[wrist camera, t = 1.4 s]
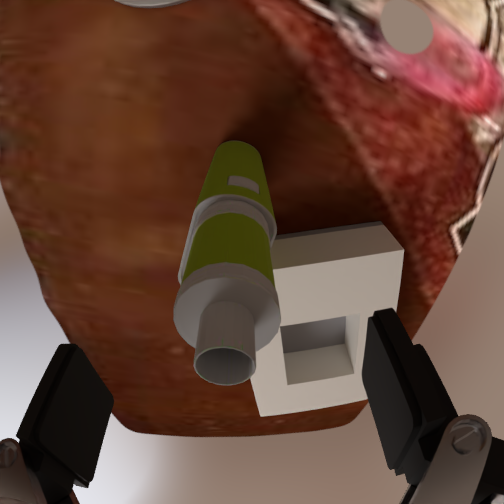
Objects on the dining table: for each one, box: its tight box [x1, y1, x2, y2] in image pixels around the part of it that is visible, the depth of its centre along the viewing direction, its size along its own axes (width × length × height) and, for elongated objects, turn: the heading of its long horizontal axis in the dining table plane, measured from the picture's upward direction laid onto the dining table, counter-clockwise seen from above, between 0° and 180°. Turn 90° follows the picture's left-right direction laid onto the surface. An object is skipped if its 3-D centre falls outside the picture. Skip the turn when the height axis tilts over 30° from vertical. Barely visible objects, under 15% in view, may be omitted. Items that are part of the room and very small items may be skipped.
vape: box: [174, 141, 281, 385], centre depth 17 cm, size 4×6×20 cm, turn 162°
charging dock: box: [250, 221, 404, 416], centre depth 31 cm, size 20×14×5 cm
